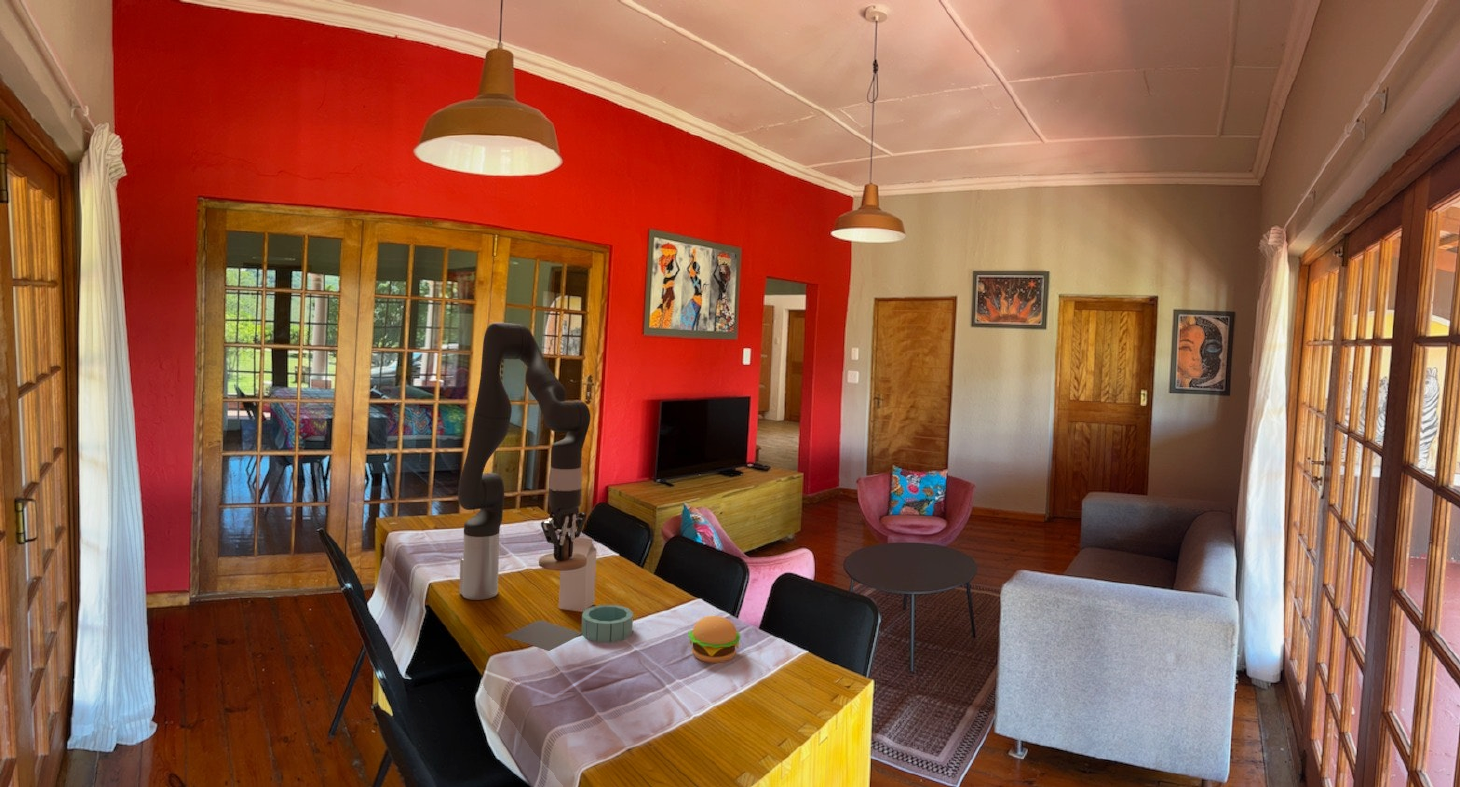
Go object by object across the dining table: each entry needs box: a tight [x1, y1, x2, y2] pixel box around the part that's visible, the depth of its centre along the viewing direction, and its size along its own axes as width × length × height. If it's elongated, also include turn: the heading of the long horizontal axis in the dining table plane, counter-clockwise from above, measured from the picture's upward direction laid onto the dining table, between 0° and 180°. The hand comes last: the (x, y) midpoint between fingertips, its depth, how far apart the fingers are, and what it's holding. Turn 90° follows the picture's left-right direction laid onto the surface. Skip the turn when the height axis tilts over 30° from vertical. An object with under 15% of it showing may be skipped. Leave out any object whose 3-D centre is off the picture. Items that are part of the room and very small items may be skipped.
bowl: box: [580, 604, 634, 643], centre depth 177 cm, size 12×12×5 cm
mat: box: [503, 619, 582, 652], centre depth 173 cm, size 14×12×1 cm
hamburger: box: [688, 615, 741, 664], centre depth 168 cm, size 12×12×9 cm
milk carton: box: [558, 536, 597, 613], centre depth 192 cm, size 7×7×19 cm
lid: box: [538, 539, 587, 572], centre depth 172 cm, size 11×11×6 cm
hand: (563, 558), depth 172 cm, fingers closed on lid, 2 cm apart
